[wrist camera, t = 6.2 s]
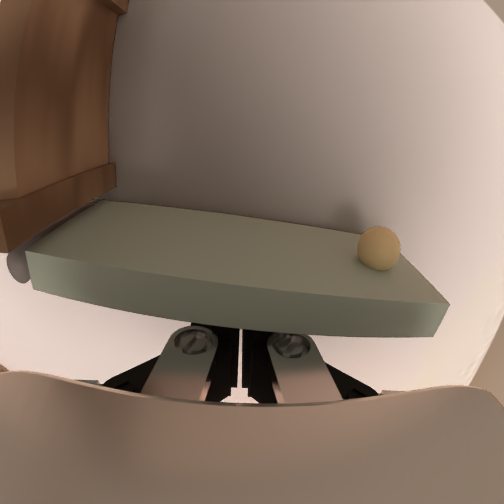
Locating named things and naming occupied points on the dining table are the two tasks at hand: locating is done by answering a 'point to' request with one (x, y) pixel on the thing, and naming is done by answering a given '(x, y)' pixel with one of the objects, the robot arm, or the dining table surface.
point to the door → (231, 271)
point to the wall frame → (53, 110)
